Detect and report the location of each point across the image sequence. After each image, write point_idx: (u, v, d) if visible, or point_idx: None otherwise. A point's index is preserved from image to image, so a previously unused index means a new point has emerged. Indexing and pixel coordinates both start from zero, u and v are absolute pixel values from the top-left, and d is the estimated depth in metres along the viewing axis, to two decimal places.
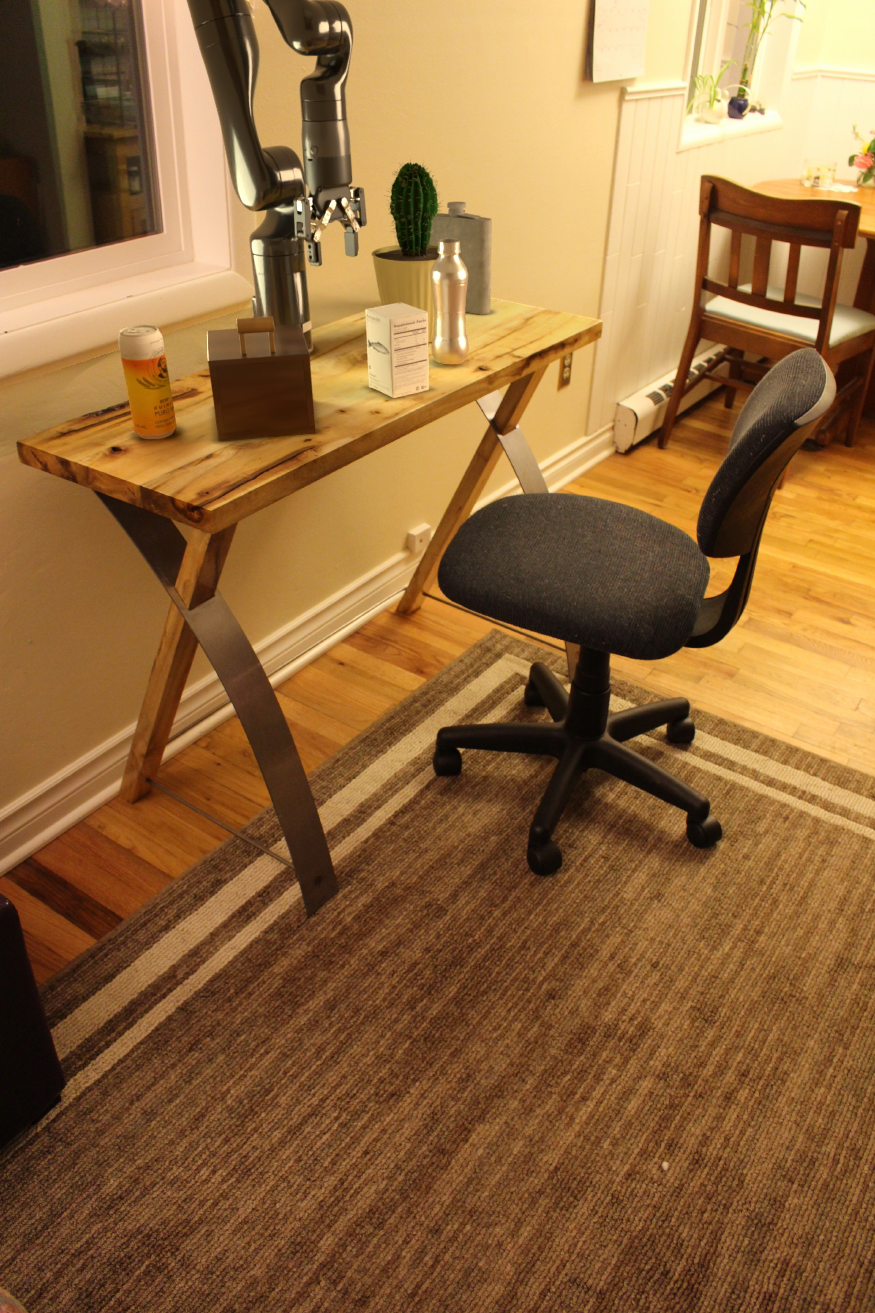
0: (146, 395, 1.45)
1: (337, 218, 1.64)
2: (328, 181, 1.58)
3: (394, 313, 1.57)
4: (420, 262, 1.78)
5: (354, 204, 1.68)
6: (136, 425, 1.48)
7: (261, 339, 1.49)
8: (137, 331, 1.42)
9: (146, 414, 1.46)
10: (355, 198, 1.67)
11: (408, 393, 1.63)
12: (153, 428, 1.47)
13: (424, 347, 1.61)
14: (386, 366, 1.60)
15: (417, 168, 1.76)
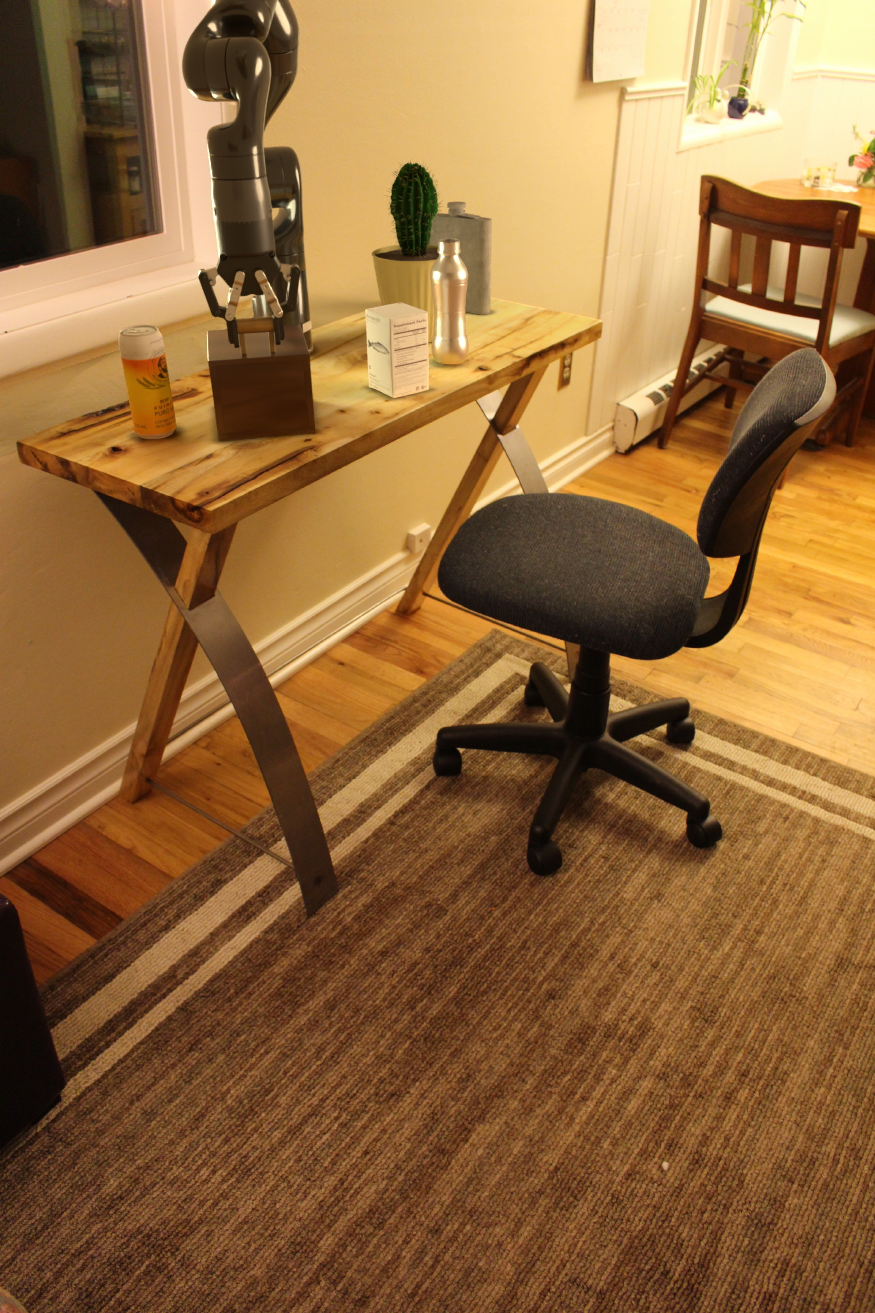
0: (146, 395, 1.45)
1: (254, 292, 1.38)
2: (225, 249, 1.33)
3: (394, 313, 1.57)
4: (420, 262, 1.78)
5: (288, 283, 1.39)
6: (136, 424, 1.48)
7: (261, 339, 1.49)
8: (137, 331, 1.42)
9: (146, 414, 1.46)
10: (287, 276, 1.38)
11: (408, 393, 1.63)
12: (153, 428, 1.47)
13: (424, 347, 1.61)
14: (386, 366, 1.60)
15: (417, 168, 1.76)
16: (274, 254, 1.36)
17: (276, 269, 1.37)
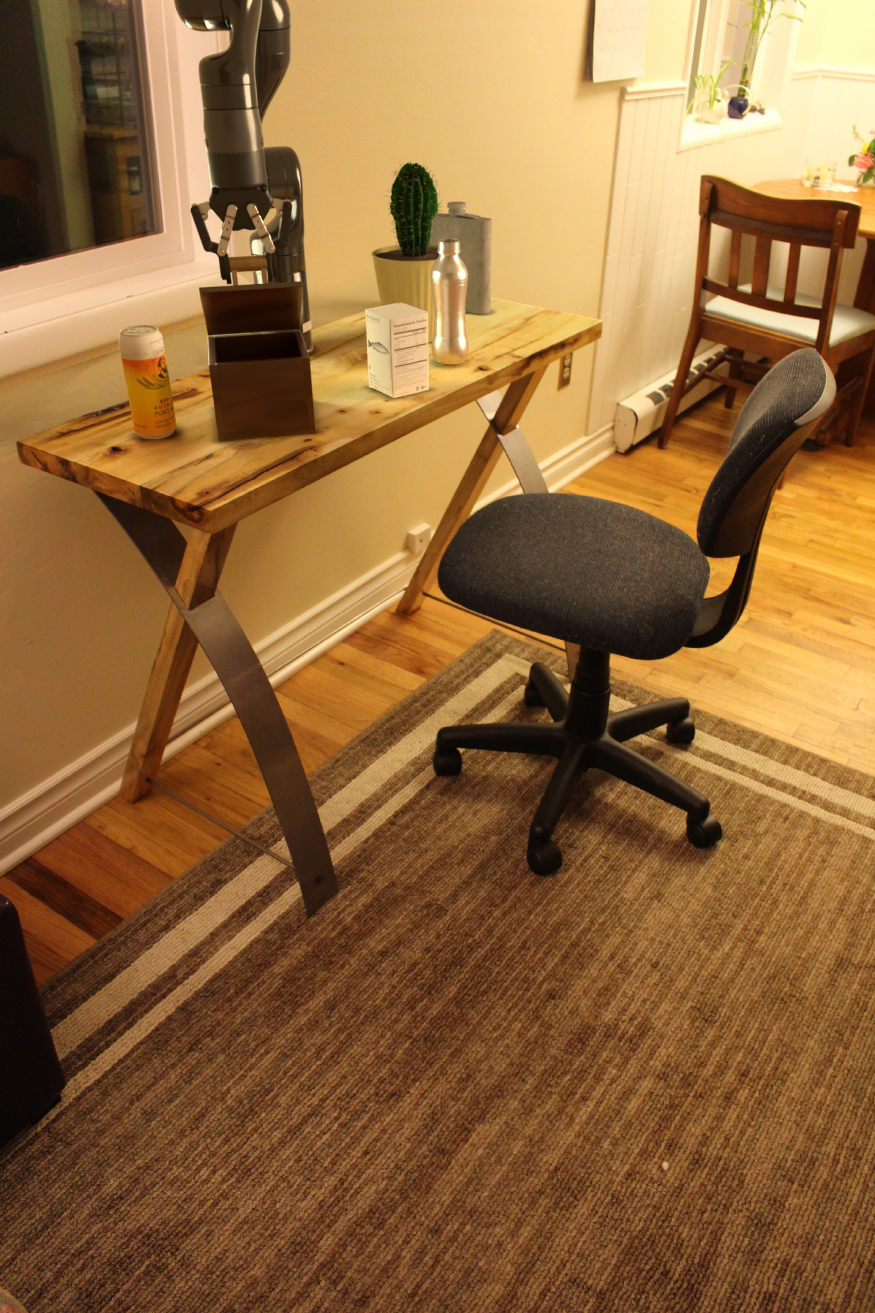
0: (146, 395, 1.45)
1: (246, 227, 1.38)
2: (217, 181, 1.34)
3: (394, 313, 1.57)
4: (420, 262, 1.78)
5: (280, 219, 1.40)
6: (136, 424, 1.48)
7: None
8: (137, 331, 1.42)
9: (146, 414, 1.46)
10: (279, 211, 1.38)
11: (408, 393, 1.63)
12: (153, 428, 1.47)
13: (424, 347, 1.61)
14: (386, 366, 1.60)
15: (417, 168, 1.76)
16: (266, 188, 1.37)
17: (268, 203, 1.37)
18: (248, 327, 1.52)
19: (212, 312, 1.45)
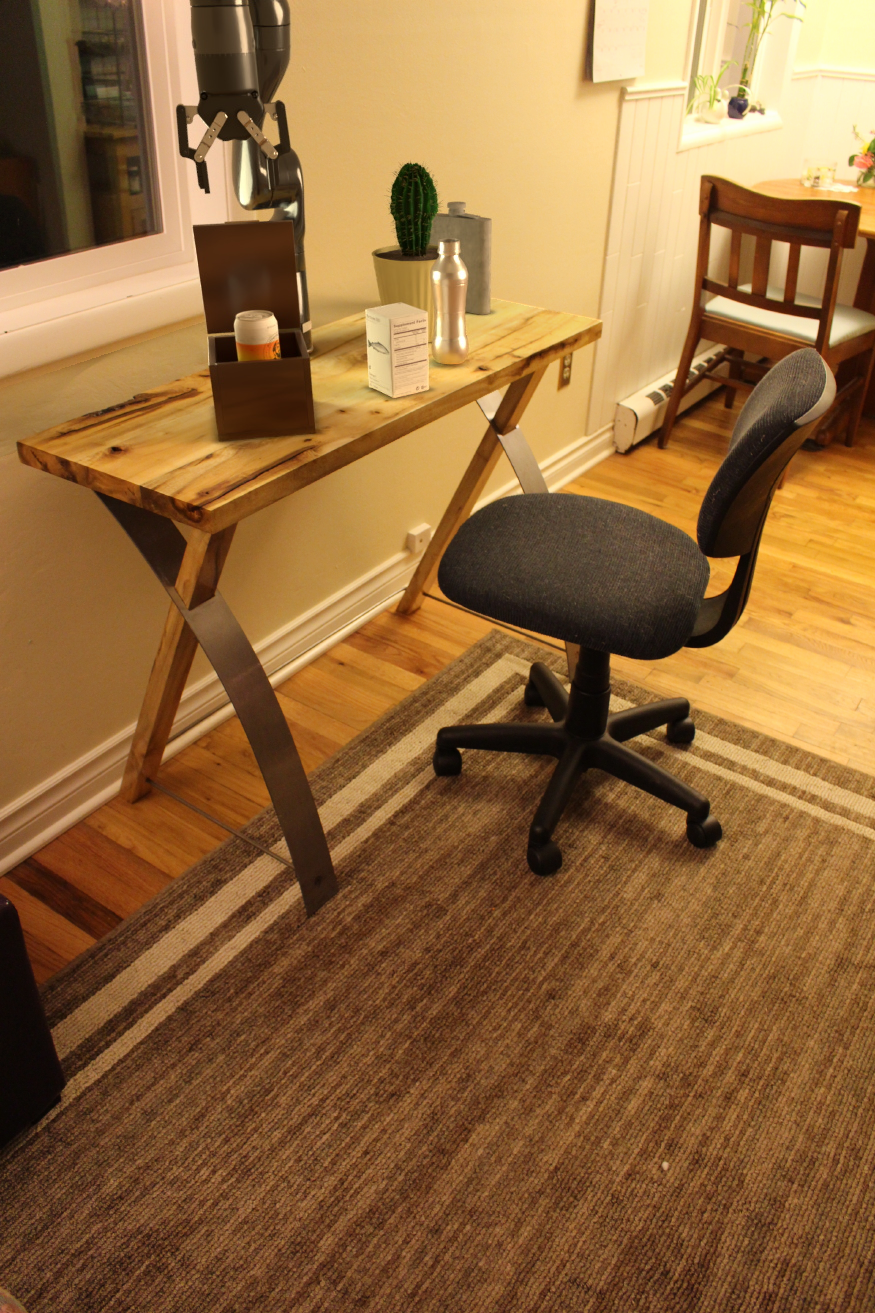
0: None
1: (236, 137, 1.31)
2: (206, 86, 1.26)
3: (394, 313, 1.57)
4: (420, 262, 1.78)
5: (277, 123, 1.32)
6: None
7: None
8: (253, 316, 1.44)
9: None
10: (273, 115, 1.31)
11: (408, 393, 1.63)
12: None
13: (424, 347, 1.61)
14: (386, 366, 1.60)
15: (417, 168, 1.76)
16: (257, 94, 1.30)
17: (260, 111, 1.30)
18: None
19: (208, 276, 1.48)
